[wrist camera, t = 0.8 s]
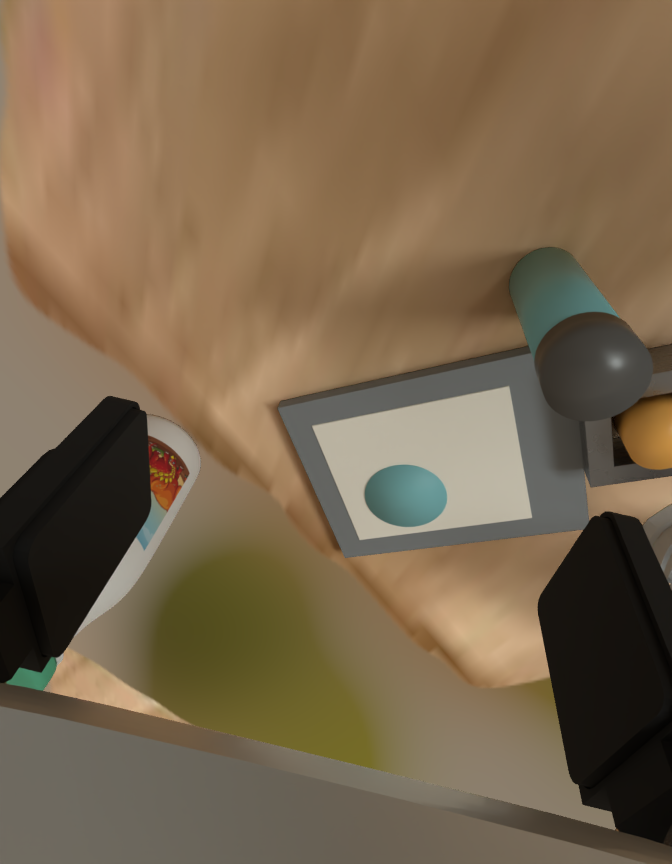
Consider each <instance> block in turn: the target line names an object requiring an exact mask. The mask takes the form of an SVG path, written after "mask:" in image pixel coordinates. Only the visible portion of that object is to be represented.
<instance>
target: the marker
mask: <svg viewBox="0 0 672 864" xmlns="http://www.w3.org/2000/svg"><path fill="white" fill-rule="evenodd" d="M509 291H510V295H511V298H512V301H513V303H514V306H515V309H516V312H517V315H518V317H519V320H520V323H521V326H522V329H523V331H524V334H525V337H526V340H527V343H528V345H529V348H530V351H531V354H532V356H533V359H534V367H535V372H536V375H537V378H538V380H539V383H540V386H541V389H542V392H543V395H544V397H545V400H546V401H547V403H548V405H549V406H550V407H551V408H552V409H553V410H554V411H555V412H557V413H558V414H560V415H562V416H564V417H566V418H569V419H572V420H577V421H598V420H603V419H607V418H610V417H613V416H615V415H618V414H620V413H622V412H623V411H625V410H627V409H628V408H630V407H631V406H632V405H634V404H635V403H636V402H637V401H638V400H639V399H640V398H641V397H642V395H643V394H644V393H645V391H646V390H647V388H648V386H649V384H650V381H651V378H652V374H653V362H652V358H651V355H650V353H649V351H648V350H647V348H646V347H645V346H644V344H643V343H642V342H641V340H640V339H639V338H638V336H637V335H636V334H635V333H634V331H633V330H632V329H631V327H630V326H629V325H628V324H627V323H626V322H625V321H623V320H622V319H621V318H620V317H619V316H618V315H617V314H616V312H615V311H614V310H613V308H612V307H611V306H610V304H609V303H608V302H607V300H606V299H605V298H604V296H603V295H602V294H601V292H600V291H599V290H598V289H597V287H596V286H595V285H594V283H593V282H592V281H591V279H590V278H589V277H588V275H587V274H586V273H585V271H584V270H583V269H582V267H581V266H580V265H579V264H578V262H577V261H576V260H575V258H574V257H573V256H572V255H571V254H570V253H568V252H567V251H565V250H562V249H559V248H554V247H548V248H541V249H538V250H535V251H533V252H531V253H529V254H527V255H526V256H525V257H523V258H522V259H521V260H520V261H519V262H518V264H517V265H516V266H515V268H514V269H513V271H512V273H511V276H510V281H509Z"/></svg>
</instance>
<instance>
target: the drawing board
mask: <svg viewBox="0 0 672 864" xmlns="http://www.w3.org/2000/svg"><path fill="white" fill-rule="evenodd" d="M278 411H279V413H280V415H281V417H282V420H283V422H284V424H285V426H286V428H287V431H288V433H289V435H290V437H291V439H292V442H293V444H294V446H295V448H296V451H297V453H298V455H299V457H300V459H301V462H302V464H303V466H304V468H305V470H306V473H307V475H308V477H309V479H310V482H311V484H312V486H313V488H314V490H315V493H316V495H317V497H318V499H319V501H320V504H321V506H322V508H323V510H324V513H325V515H326V517H327V519H328V521H329V524H330V526H331V528H332V530H333V532H334V535H335V537H336V539H337V541H338V544H339V546H340V548H341V550H342V552H343V555H344V557H345V558H348V557H356V556H365V555H373V554H382V553H390V552H398V551H407V550H415V549H424V548H432V547H440V546H449V545H457V544H466V543H474V542H482V541H491V540H499V539H508V538H516V537H524V536H533V535H541V534H550V533H558V532H566V531H575V530H583V529H585V527H586V526H587V524H588V522H589V516H588V506H587V496H586V486H585V476H584V465H583V455H582V445H581V435H580V425H579V421H577V420H572V419H569V418H566V417H564V416H562V415H560V414H558V413H557V412H555V411H554V410H553V409H552V408H551V407H550V406H549V405H548V403H547V401H546V400H545V397H544V395H543V392H542V389H541V386H540V383H539V380H538V378H537V375H536V372H535V367H534V359H533V356H532V354H531V351H530V348H529V346H527V347H523V348H518V349H514V350H509V351H505V352H500V353H496V354H491V355H487V356H482V357H478V358H473V359H469V360H464V361H460V362H455V363H451V364H446V365H442V366H437V367H433V368H428V369H424V370H419V371H415V372H410V373H406V374H401V375H397V376H392V377H387V378H383V379H378V380H374V381H369V382H365V383H360V384H356V385H351V386H347V387H342V388H338V389H333V390H329V391H324V392H320V393H315V394H311V395H306V396H302V397H297V398H293V399H288V400H284V401H280V404H279V406H278Z"/></svg>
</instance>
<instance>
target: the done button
mask: <svg viewBox="0 0 672 864" xmlns="http://www.w3.org/2000/svg"><path fill="white" fill-rule="evenodd" d="M614 425H615V428H616V430H617V432H618V434H619V436H620V438H621V440H622V442H623V444H624V446H625V447H626V449H627V451H628V453H629V455H630V457H631V459H632V460H633V461H634V462H635V463H636V464H638V465H639V466H642V467H644V468H648V469H655V470H661V469H668V468H672V393H666V394H661V395H655V396H650V397H644V398H640V399H639V400H638V401H637V402H636V403H635V404H634V405H632V406H631V407H630V408H628V409H627V410H625V411H623V412H622V413H620V414H618V415H615V417H614Z"/></svg>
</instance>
